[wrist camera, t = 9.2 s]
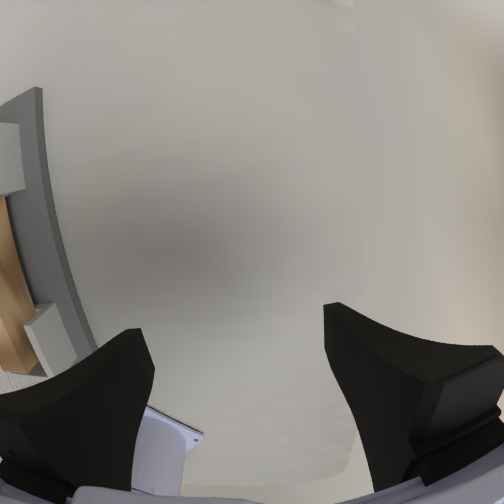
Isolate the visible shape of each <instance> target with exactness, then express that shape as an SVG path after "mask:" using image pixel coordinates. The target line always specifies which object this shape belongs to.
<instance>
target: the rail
mask: <svg viewBox="0 0 504 504" xmlns="http://www.w3.org/2000/svg"><path fill="white" fill-rule="evenodd" d="M36 314H37V312H36V310H35V307H34V304H33V302H32V299H31V296H30V293H29V290H28V287H27V284H26V281H25V278H24V275H23V272H22V269H21V265H20V262H19V258H18V255H17V251H16V247H15V243H14V239H13V235H12V231H11V226H10V222H9V217H8V212H7V207H6V201H5V195H2V196H0V366H1V368H2V369H3V371H7V372H14V373H22V374H28V373H29V372H30V371H31V369H32V368H33V367H34V366H35V365H36V363H37V362H38V361H39V359H38V357H37V355H36V353H35V351H34V349H33V346H32V344H31V342H30V340H29V338H28V336H27V333H26V331H25V329H24V325H25V324H26V323H27V322H28V321H29V320H30V319H31V318H32V317H34V316H35V315H36Z"/></svg>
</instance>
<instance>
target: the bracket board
mask: <svg viewBox="0 0 504 504" xmlns="http://www.w3.org/2000/svg"><path fill="white" fill-rule="evenodd" d="M2 195H5V201H6V207H7V212H8V217H9V222H10V226H11V231H12V235H13V239H14V243H15V247H16V251H17V255H18V258H19V262H20V265H21V269H22V272H23V275H24V278H25V281H26V284H27V287H28V290H29V293H30V296H31V299H32V302H33V304H34V307H35V310H36V312H37V314H36V315H35V316H34V317H32V318H31V319H30V320H29V321H28V322H27V323H26V324H25V325H24V329H25V331H26V333H27V336H28V338H29V340H30V342H31V344H32V346H33V349H34V351H35V353H36V355H37V357H38V359H39V361H38V362H37V363H36V365H35V366H34V367H33V368H32V369H31V371H30V372H29V373H28V374H22V373H14V372H7V371H5V372H6V374H7V375H8V377H9V378H12V379H19V380H26V381H34V382H43V381H45V380H47V379H50V378H52V377H54V376H56V375H58V374H60V373H62V372H64V371H65V370H67V369H69V368H71V367H72V366H74V365H76V364H77V363H79V362H80V361H82V360H83V359H85V358H86V357H87V356H89V355H90V354H92V353H93V352H95V351H96V350H97V349H98V348H97V345H96V343H95V340H94V338H93V335H92V333H91V330H90V328H89V325H88V323H87V320H86V317H85V315H84V312H83V309H82V306H81V303H80V300H79V297H78V294H77V291H76V288H75V285H74V282H73V279H72V276H71V272H70V269H69V265H68V262H67V258H66V255H65V251H64V247H63V243H62V239H61V235H60V231H59V226H58V222H57V217H56V212H55V207H54V202H53V197H52V191H51V185H50V179H49V172H48V165H47V157H46V148H45V138H44V125H43V106H42V88H38V87H33V88H31V89H29V90H28V91H26V92H24V93H22V94H20V95H18V96H17V97H15V98H13V99H12V100H10V101H8V102H6V103H5V104H3V105H2V106H0V196H2Z"/></svg>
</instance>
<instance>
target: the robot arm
mask: <svg viewBox="0 0 504 504" xmlns="http://www.w3.org/2000/svg"><path fill="white" fill-rule="evenodd" d="M323 308H324V346H325V351H326V354H327V358H328V361H329V364H330V367H331V369H332V372H333V374H334V376H335V378H336V380H337V382H338V384H339V386H340V388H341V390H342V392H343V394H344V396H345V398H346V401H347V403H348V405H349V407H350V409H351V411H352V414H353V416H354V419H355V422H356V425H357V428H358V431H359V434H360V437H361V441H362V444H363V448H364V451H365V454H366V458H367V462H368V466H369V470H370V474H371V478H372V483H373V488H374V492H375V493H372V494H369V495H366V496H362V497H359V498H355V499H352V500H348V501H344V502H340V503H336V504H504V423H503V422H502V421H501V420H500V418H499V416H500V415H501V410H500V408H499V407H498V406H497V405H496V404H497V402H498V400H499V398H500V396H501V394H502V392H503V389H504V355H503V354H501V353H500V352H499V351H498V350H497V349H496V348H495V347H494V346H492V345H479V346H478V345H469V346H468V345H456V344H446V343H440V342H435V341H430V340H425V339H421V338H418V337H414V336H411V335H408V334H405V333H401V332H399V331H396V330H393V329H391V328H389V327H387V326H384V325H381V324H380V323H378V322H376V321H373V320H372V319H370V318H368V317H366V316H364V315H362V314H360V313H358V312H357V311H355V310H353V309H351V308H349V307H348V306H346V305H344V304H342V303H340V302H336V303H331V304H325V305H323ZM154 372H155V367H154V364H153V362H152V359H151V356H150V353H149V351H148V348H147V345H146V342H145V339H144V337H143V334H142V331H141V328H135V329H127V330H125V331H123V332H121V333H120V334H118V335H117V336H115V337H114V338H113V339H111V340H110V341H108V342H107V343H106V344H104V345H103V346H102V347H100V348H99V349H97V350H96V351H95V352H93V353H92V354H90V355H89V356H87V357H86V358H85V359H83V360H82V361H80V362H79V363H77V364H76V365H74V366H72V367H71V368H69V369H67V370H65V371H64V372H62V373H60V374H58V375H56V376H54V377H52V378H50V379H47V380H45V381H43V382H40V383H38V384H36V385H33V386H30V387H27V388H24V389H21V390H18V391H14V392H10V393H5V394H0V457H1V458H2V459H3V460H2V461H1V463H0V504H264V503H259V502H254V501H250V500H246V499H239V498H220V497H180V491H181V484H182V476H183V468H184V461H185V454H186V453H187V452H188V451H190V450H191V449H192V448H193V447H195V446H196V445H197V444H198V443H200V442H201V441H202V440H203V439H204V435H203V434H202V433H200V432H197V431H195V430H193V429H191V428H189V427H187V426H185V425H182V424H180V423H178V422H176V421H174V420H172V419H170V418H168V417H166V416H164V415H162V414H161V413H159V412H157V411H155V410H153V409H151V408H149V407H148V406H147V402H148V399H149V396H150V393H151V389H152V385H153V379H154Z"/></svg>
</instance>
